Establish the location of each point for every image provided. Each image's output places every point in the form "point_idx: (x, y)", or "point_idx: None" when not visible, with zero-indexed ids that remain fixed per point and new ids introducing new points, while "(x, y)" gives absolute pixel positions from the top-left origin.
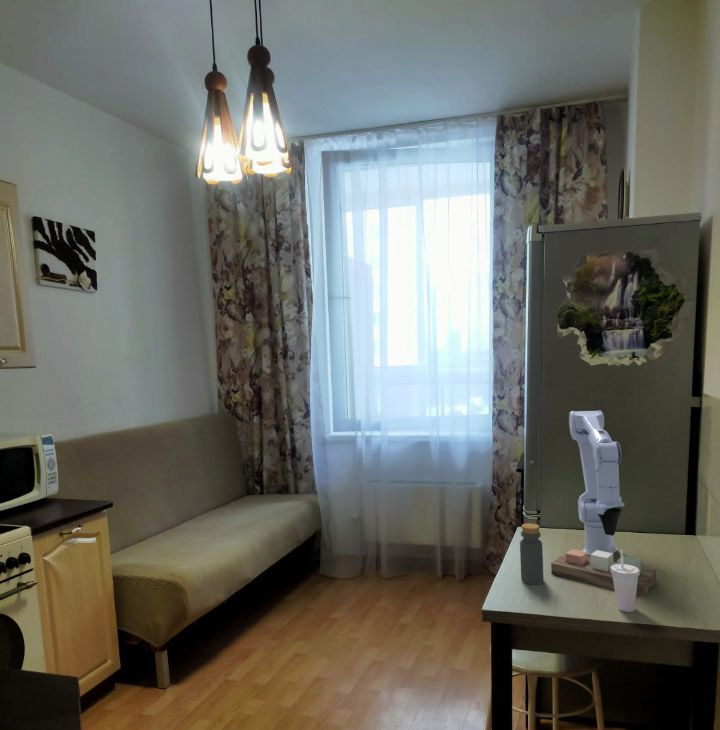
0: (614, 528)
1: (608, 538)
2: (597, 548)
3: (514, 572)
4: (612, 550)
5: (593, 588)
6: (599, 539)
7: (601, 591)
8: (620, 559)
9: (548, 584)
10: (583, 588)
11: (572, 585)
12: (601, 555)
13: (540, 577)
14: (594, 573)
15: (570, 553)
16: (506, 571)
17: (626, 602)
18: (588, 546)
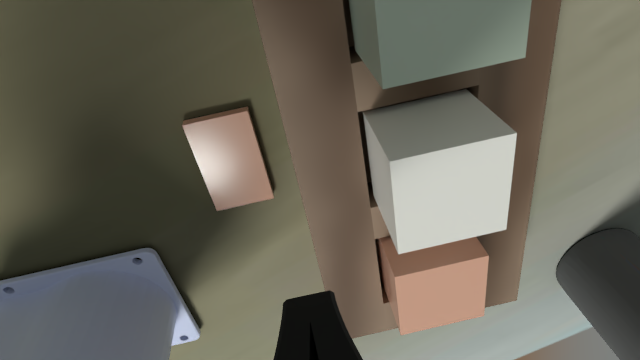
0: (330, 349)
1: (62, 347)
2: (154, 315)
3: (551, 324)
4: (32, 287)
5: (562, 71)
6: (133, 356)
7: (583, 21)
8: (491, 50)
9: (607, 210)
10: (585, 102)
11: (573, 151)
12: (485, 184)
13: (638, 245)
14: (540, 122)
15: (471, 305)
16: (555, 338)
17: None
18: (170, 346)
